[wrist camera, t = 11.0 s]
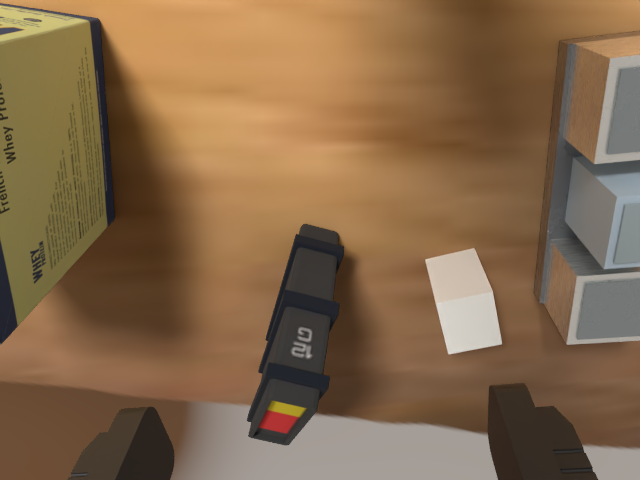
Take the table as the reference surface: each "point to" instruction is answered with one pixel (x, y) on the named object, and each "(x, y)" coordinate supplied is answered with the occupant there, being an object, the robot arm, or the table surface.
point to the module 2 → (606, 210)
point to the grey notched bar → (565, 143)
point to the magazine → (298, 339)
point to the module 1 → (464, 301)
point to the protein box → (49, 152)
